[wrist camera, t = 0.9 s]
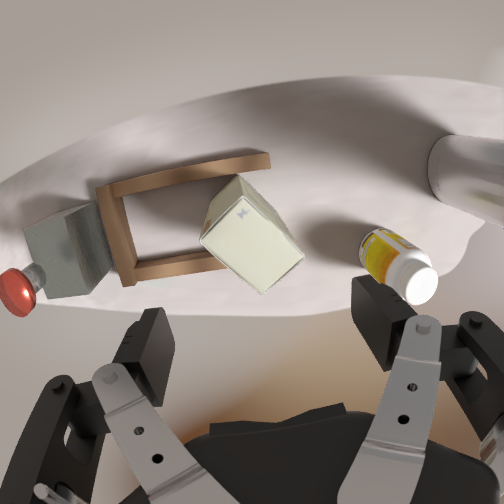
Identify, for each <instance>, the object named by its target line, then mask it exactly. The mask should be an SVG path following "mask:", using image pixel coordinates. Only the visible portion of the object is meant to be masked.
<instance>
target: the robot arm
mask: <svg viewBox="0 0 504 504" xmlns="http://www.w3.org/2000/svg"><path fill="white" fill-rule="evenodd" d="M428 179H429V183H430V186H431V189H432V191H433V193H434V194H435V196H436V197H437V198H438V199H439V200H440V201H441V202H443V203H445V204H447V205H450V206H452V207H455V208H457V209H460V210H462V211H464V212H467V213H469V214H472V215H474V216H476V217H479V218H481V219H483V220H485V221H488V222H490V223H492V224H495V225H497V226H499V227H501V228H503V229H504V140H499V139H491V138H481V137H472V136H458V135H447V136H444V137H442V138H440V139H439V140H438V141H437V142H436V143H435V145H434V146H433V148H432V150H431V153H430V155H429V160H428ZM351 313H352V318H353V321H354V323H355V324H356V326H357V328H358V330H359V331H360V333H361V334H362V336H363V338H364V339H365V341H366V343H367V344H368V346H369V348H370V349H371V351H372V353H373V354H374V356H375V358H376V359H377V361H378V363H379V364H380V366H381V368H382V370H383V371H384V372H386V371H389V370H391V373H390V375H389V378H388V382H387V384H386V387H385V390H384V393H383V396H382V399H381V401H380V404H379V407H378V409H377V412H376V414H375V415H374V414H370V413H366V412H360V411H346V409H345V407H344V404H343V403H339V404H334V405H330V406H326V407H322V408H317V409H313V410H309V411H307V412H304V413H302V414H300V415H297V416H295V417H292V418H290V419H287V420H284V421H282V422H278V423H268V422H252V421H234V422H224V423H210V431H209V433H207V434H204V435H201V436H199V437H197V438H194V439H192V440H190V441H189V442H187V443H186V444H184V445H182V443H181V442H180V441H179V440H178V439H177V437H176V436H175V435H174V434H173V432H172V431H171V430H170V429H169V427H168V426H167V425H166V424H165V422H164V421H163V419H162V418H161V417H160V415H159V414H158V413H157V411H156V410H155V409H154V407H162V405H163V400H164V395H165V391H166V386H167V382H168V377H169V373H170V369H171V364H172V359H173V356H174V352H175V342H174V337H173V334H172V332H171V328H170V325H169V322H168V320H167V316H166V313H165V311H164V309H163V308H162V307H159V308H150V309H145V310H144V312H143V314H142V316H141V319H140V321H136V322H135V323H133V324H132V325H131V326H130V327H129V328H128V330H127V332H126V334H125V336H124V338H123V340H122V342H121V344H120V346H119V348H118V350H117V353H116V355H115V357H114V359H113V361H112V363H111V364H107V365H104V366H102V367H101V368H99V369H98V370H97V371H96V372H95V373H94V375H93V377H92V381H88V382H84V383H80V384H75V382H74V381H73V379H72V378H71V377H70V376H68V375H59V376H56V377H54V378H53V379H51V380H50V381H49V382H48V383H47V384H46V386H45V387H44V389H43V391H42V393H41V395H40V397H39V399H38V401H37V403H36V405H35V407H34V409H33V411H32V413H31V415H30V417H29V419H28V421H27V424H26V426H25V428H24V430H23V432H22V435H21V437H20V439H19V441H18V444H17V446H16V449H15V451H14V453H13V456H12V458H11V461H10V463H9V466H8V469H7V472H6V474H5V477H4V480H3V482H2V485H1V488H0V504H90V502H91V497H92V492H93V487H94V482H95V477H96V473H97V468H98V463H99V459H100V455H101V451H102V446H103V443H104V439H105V435H106V433H112V435H113V437H114V439H115V441H116V443H117V444H118V446H119V448H120V450H121V452H122V454H123V455H124V457H125V459H126V461H127V463H128V464H129V466H130V468H131V470H132V471H133V473H134V474H135V476H136V478H137V479H138V481H139V483H140V484H141V485H140V486H139V487H138V488H136V489H135V490H134V491H133V492H132V493H131V494H130V495H129V496H127V497H126V498H125V499H124V500H123V501H122V502H120V503H119V504H499V501H500V496H502V495H504V332H503V331H502V330H501V329H500V328H499V327H498V326H497V325H495V323H494V322H493V321H491V319H489V318H488V317H487V316H486V315H484V314H482V313H480V312H476V311H469V312H465V313H463V314H462V315H461V317H460V320H459V324H458V325H448V326H441V324H440V322H439V321H438V320H437V319H435V318H434V317H431V316H428V315H418V314H417V313H416V312H415V311H414V310H413V309H412V308H411V307H410V306H409V305H408V304H407V302H406V301H405V300H403V298H402V297H401V296H400V295H398V293H397V292H396V291H395V290H394V289H393V288H392V287H390V286H388V285H386V284H383V283H380V284H379V283H378V282H377V281H376V280H375V279H374V278H373V277H372V276H371V275H370V274H368V275H363V276H358V277H354V278H353V279H352V294H351ZM478 363H480V364H481V365H482V366H483V368H484V369H485V370H486V372H487V376H488V379H487V380H486V378H485V377H484V376H483V375H482V373H481V372H480V370H479V369H478V368H477V365H478ZM444 380H445V382H446V383H447V385H448V386H449V388H450V390H451V391H452V393H453V395H454V396H455V398H456V399H457V401H458V403H459V404H460V406H461V408H462V409H463V411H464V413H465V414H466V416H467V418H468V419H469V421H470V423H471V424H472V426H473V428H474V430H475V432H476V433H477V435H478V437H479V439H480V440H481V442H482V443H481V445H480V449H479V453H480V458H481V459H480V460H478V459H475V458H473V457H470V456H467V455H465V454H462V453H459V452H457V451H455V450H452V449H450V448H447V447H445V446H443V445H440V444H438V443H436V442H433V441H431V440H429V439H428V436H429V432H430V427H431V423H432V418H433V413H434V408H435V403H436V397H437V391H438V385H439V381H444ZM67 426H69V427H70V428H71V432H70V435H69V438H68V441H67V444H66V447H65V444H64V435H65V432H66V429H67Z"/></svg>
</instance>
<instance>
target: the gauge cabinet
mask: <svg viewBox="0 0 504 504" xmlns="http://www.w3.org/2000/svg"><path fill="white" fill-rule="evenodd" d="M23 231H24V234H25V238H26V241H27V244H28V247H29V250H30V253H31V256H32V259H33V262H34V263H36V264H38V265H39V266H41V267H42V269H43V270H44V272H45V275H46V284H45V285H44V286H43V289H44V292H45V294H46V296H47V299H55V298H64V297H72V296H80V295H88V294H90V293H91V292H92V290H93V289H94V288H95V287H96V286H97V284H98V283H99V282H100V281H101V280H102V279H103V277H104V276H105V275H106V274H107V273H108V272H109V271H110V269H111V268H112V267H113V264H112V261H111V258H110V254H109V251H108V248H107V244H106V241H105V237H104V234H103V230H102V226H101V223H100V219H99V215H98V211H97V207H96V203H95V202H91V203H87V204H84V205H80V206H77V207H73V208H70V209H66V210H63V211H59V212H56V213H54V214H52V215H50V216H48V217H46V218H44V219H42V220H40V221H38V222H36V223H34V224H32V225H30V226H28V227H27V228H25V229H23Z"/></svg>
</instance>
